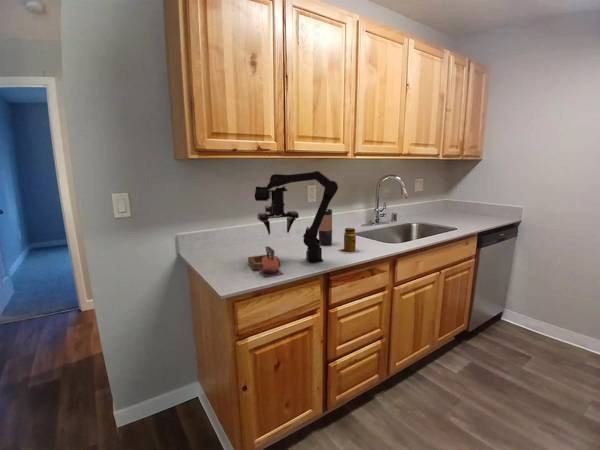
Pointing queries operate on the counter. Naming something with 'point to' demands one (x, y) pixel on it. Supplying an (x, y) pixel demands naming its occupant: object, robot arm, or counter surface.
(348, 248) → the condiment
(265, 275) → the mat
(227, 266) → the counter surface
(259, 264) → the holder
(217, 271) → the counter surface
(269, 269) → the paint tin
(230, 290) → the counter surface
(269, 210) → the robot arm
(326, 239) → the travel mug
